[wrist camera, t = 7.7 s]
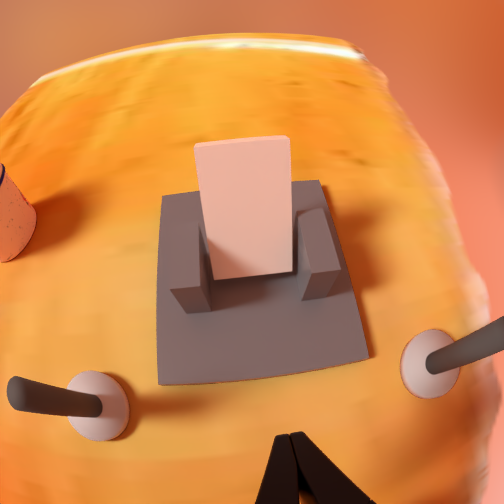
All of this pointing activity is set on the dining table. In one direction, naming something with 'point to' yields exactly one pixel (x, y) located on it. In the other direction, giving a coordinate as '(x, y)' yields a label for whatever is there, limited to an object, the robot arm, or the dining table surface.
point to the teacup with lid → (13, 218)
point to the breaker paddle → (246, 204)
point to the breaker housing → (253, 301)
